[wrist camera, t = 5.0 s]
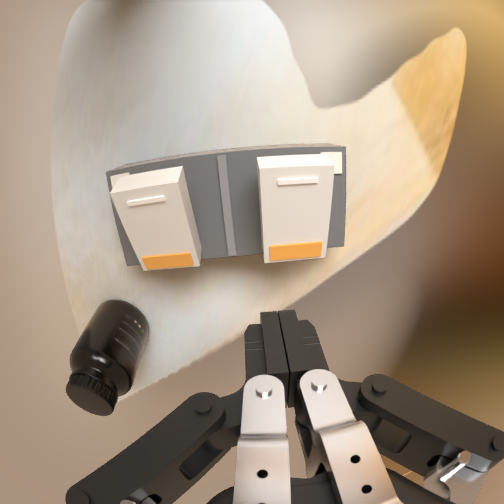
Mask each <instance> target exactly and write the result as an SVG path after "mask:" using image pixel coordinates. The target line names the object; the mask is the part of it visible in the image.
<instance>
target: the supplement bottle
mask: <svg viewBox="0 0 504 504" xmlns="http://www.w3.org/2000/svg"><path fill="white" fill-rule="evenodd" d="M148 333H149V327H148V323H147V321H146V319H145V317H144V315H143V314H142V313H141V312H140V311H139V310H138V309H137V308H136V307H134V306H133V305H131V304H129V303H127V302H125V301H121V300H109V301H106V302H104V303H102V304H101V305H100V306H99V307H98V309H97V310H96V312H95V313H94V315H93V316H92V318H91V320H90V321H89V323H88V325H87V326H86V328H85V330H84V331H83V333H82V335H81V336H80V338H79V340H78V342H77V343H76V345H75V347H74V349H73V351H72V353H71V355H70V367H71V370H72V373H71V375H70V378H69V382H68V384H67V386H66V393H67V395H68V396H69V398H70V399H71V400H72V401H73V402H74V403H75V404H76V405H77V406H79V407H80V408H82V409H83V410H85V411H87V412H90V413H92V414H95V415H100V416H107V415H110V414H112V412H113V410H114V407H115V404H116V403H117V400H118V397H119V396H122V395H124V394H126V393H127V392H128V391H129V390H130V389H131V387H132V384H133V381H134V378H135V375H136V372H137V368H138V365H139V362H140V359H141V356H142V353H143V350H144V347H145V344H146V341H147V337H148Z"/></svg>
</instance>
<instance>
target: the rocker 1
mask: <svg viewBox="0 0 504 504" xmlns="http://www.w3.org/2000/svg"><path fill="white" fill-rule="evenodd" d="M110 195H111V198H112V200H113V203H114V205H115V208H116V210H117V213H118V215H119V217H120V220H121V222H122V224H123V227H124V229H125V231H126V234H127V236H128V238H129V240H130V242H131V245H132V247H133V249H134V251H135V253H136V255H137V258H138V260H139V262H140V264H141V266H142V268H143V270H144V271H149V270H161V269H173V268H185V267H197V266H200V261H201V249H202V246H201V242H200V238H199V234H198V230H197V226H196V222H195V218H194V214H193V210H192V205H191V201H190V197H189V192H188V188H187V183H186V179H185V174H184V169H183V166H179V167H173V168H166V169H160V170H154V171H148V172H143V173H137V174H132V175H127V176H122V177H119V179H118V181H117V182H116V184H115V186H114V187H113V189H112V191H111V192H110Z"/></svg>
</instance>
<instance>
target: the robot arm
mask: <svg viewBox="0 0 504 504" xmlns="http://www.w3.org/2000/svg"><path fill="white" fill-rule="evenodd" d="M260 321H261V324H252V325H249V326H248V327H247V329H246V331H245V333H244V335H245V364H246V381H245V384H244V385H243V387H242V388H241V389H240V390H238V391H237V392H235V393H233V394H231V395H228V396H225V397H221V398H219V397H218V396H217V395H215V394H212V393H208V392H201V393H197V394H194V395H192V396H191V397H189V398H188V399H187V400H186V401H184V402H183V403H182V404H181V405H180V406H178V407H177V408H176V409H175V410H174V411H172V412H171V413H170V414H169V415H168V416H167V417H165V418H164V419H163V420H162V421H161V422H159V423H158V424H157V425H155V426H154V427H153V428H152V429H150V430H149V431H148V432H147V433H145V434H144V435H143V436H141V437H140V438H139V439H138V440H136V441H135V442H134V443H132V444H131V445H130V446H128V447H127V448H126V449H124V450H123V451H122V452H120V453H119V454H118V455H116V456H115V457H114V458H112V459H111V460H109V461H108V462H107V463H105V464H104V465H102V466H101V467H100V468H98V469H97V470H95V471H94V472H92V473H91V474H89V475H88V476H87V477H85V478H84V479H82V480H81V481H79V482H78V483H76V484H74V485H73V486H72V487H70V488H69V490H68V491H67V493H66V504H172V503H173V502H175V501H176V500H177V499H178V498H179V497H180V496H182V495H183V494H184V493H185V492H186V491H187V490H189V489H190V488H191V487H192V486H193V485H194V484H195V483H196V482H197V481H198V480H200V479H201V478H202V477H203V476H204V475H205V474H206V473H207V472H208V471H209V470H210V469H211V468H212V467H213V466H214V465H215V464H216V463H217V462H218V461H219V460H220V459H221V458H222V457H223V456H224V455H225V454H226V453H227V452H228V451H229V450H230V449H231V447H234V446H237V457H236V470H235V484H234V486H233V487H230V488H228V489H226V490H224V491H222V492H220V493H219V494H217V495H216V496H214V497H213V498H212V499H211V500H210V501H209V502H208V503H207V504H474V502H475V500H476V498H477V495H478V494H479V492H480V489H481V487H482V485H483V483H484V481H485V478H486V476H487V473H488V471H489V470H490V469H491V468H492V467H494V466H495V465H496V464H497V463H499V462H500V461H501V460H502V459H503V458H504V432H503V431H501V430H499V429H496V428H494V427H492V426H489V425H487V424H485V423H483V422H480V421H478V420H476V419H474V418H471V417H469V416H467V415H465V414H463V413H461V412H459V411H456V410H454V409H452V408H450V407H448V406H446V405H444V404H442V403H440V402H438V401H435V400H433V399H431V398H429V397H427V396H425V395H423V394H421V393H419V392H417V391H415V390H413V389H411V388H409V387H407V386H405V385H403V384H402V383H400V382H398V381H396V380H394V379H392V378H390V377H388V376H386V375H382V374H374V375H370V376H368V377H367V378H365V379H364V381H363V382H362V383H358V382H347V381H343V380H340V379H338V378H337V377H336V376H335V375H334V374H333V373H331V372H330V370H329V368H328V365H327V362H326V359H325V356H324V353H323V350H322V347H321V345H320V342H319V338H318V337H317V333H316V330H315V327H314V326H313V325H312V324H311V323H310V322H309V321H308V320H300V321H298V319H297V316H296V312H295V310H284V311H278V314H277V311H273V312H260ZM286 405H288V408H290V407H294V408H295V414H296V417H295V425H296V429H297V432H298V436H299V440H300V443H301V447H302V451H303V454H304V458H305V464H306V475H307V479H301V478H290V465H289V444H288V436H287V431H286V411H285V408H286ZM379 453H380V454H382V455H384V456H386V457H388V458H389V459H391V460H393V461H395V462H397V463H399V464H400V465H402V466H404V467H406V468H408V469H410V470H412V471H414V472H416V473H418V474H420V475H422V476H424V479H423V481H424V488H423V487H421V486H420V485H418V484H416V483H414V482H412V481H411V480H409V479H407V478H405V477H404V476H402V475H400V474H398V473H397V472H395V471H393V470H390V469H388V468H385V466H384V464H383V462H382V459H381V457H380V455H379Z"/></svg>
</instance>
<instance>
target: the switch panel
mask: <svg viewBox="0 0 504 504" xmlns="http://www.w3.org/2000/svg"><path fill="white" fill-rule="evenodd" d="M307 154H325V155H326V156H327V157H328V158H329V159H330V161H331V162H332V163H333V164H334V180H333V192H332V203H331V214H330V223H329V232H328V241H327V248H332V247H343V246H344V238H345V215H346V147H345V146H339V145H334V144H290V145H270V146H255V147H243V148H232V149H222V150H214V151H205V152H197V153H190V154H183V155H177V156H170V157H164V158H158V159H153V160H147V161H142V162H137V163H132V164H127V165H124V166H121V167H118V168H115V169H113V170H110V171H107V172H106V175H107V181H108V186H109V191H110V192H111V191H112V189H113V187H114V186H115V184H116V182H117V181H118V179H119V177H122V176H127V175H132V174H137V173H143V172H148V171H154V170H160V169H166V168H173V167H179V166H183V169H184V174H185V179H186V183H187V188H188V192H189V197H190V201H191V205H192V210H193V214H194V218H195V222H196V226H197V230H198V234H199V238H200V242H201V246H202V249H201V259H211V258H222V257H233V256H245V255H256V254H263V250H262V238H261V220H260V203H259V187H258V171H257V157H266V156H283V155H307ZM110 196H111V195H110ZM111 201H112V206H113V211H114V215H115V220H116V224H117V228H118V233H119V237H120V241H121V244H122V248H123V252H124V256H125V259H126V263H127V266H131V265H141V264H140V262H139V260H138V258H137V255H136V253H135V251H134V249H133V247H132V245H131V242H130V240H129V238H128V236H127V234H126V231H125V229H124V227H123V224H122V222H121V220H120V217H119V215H118V213H117V210H116V208H115V205H114V203H113V200H112V198H111Z"/></svg>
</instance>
